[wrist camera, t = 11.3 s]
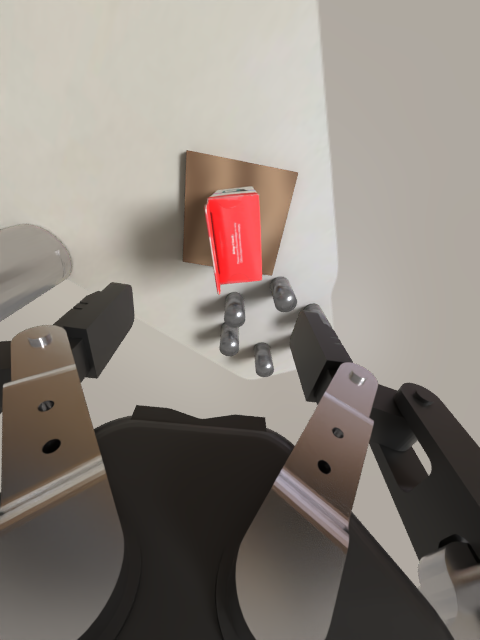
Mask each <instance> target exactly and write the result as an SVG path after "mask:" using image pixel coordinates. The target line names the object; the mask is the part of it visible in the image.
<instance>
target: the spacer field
mask: <svg viewBox="0 0 480 640" xmlns="http://www.w3.org/2000/svg"><path fill="white" fill-rule="evenodd" d="M270 288H271V292H272V295H273V299H274V303H275V307H276V309H277V310H279V311H280V312H289V311H291V310H293V309H294V308H295V306H296V304H297V299H296V297H295V295H294V292H293V290H292V288H291V285H290V283H289V281H288V280H287V279H286V278H285V277H277V278H275V279H274V280H273V281H272V282H271V285H270ZM303 311H310V312H317V313H318V314H319V316H320V318H321V320H322V321H323V323H324V324H327V325H328V326H329V327H330V328H332V327H331V325H330V323H329V322H328V320H327V318H326V316H325V315H324V313H323V311H322V309H321V308H320V306H319V305H317V304H310V305H307V306H306V307H305V308H304V310H303ZM224 321H225V323H224V324H223V325H222V330H221V340H220V352H221V353H222V354H223V355H226V356H233V355H235V354H237V353H238V351H239V327H240V326H242V325H243V324H244V322H245V306H244V297H243V296H242V295H241V294H240V293H237V292H233V293H230V294H229V295H228V296H227V297H226V305H225V315H224ZM254 355H255V367H256V373H257V375H259V376H261V377H268V376H270V375H272V373H273V372H274V368H273V362H272V357H271V351H270V346H269V345H268V344H266V343H258V344H257V345H256V346H255V347H254Z"/></svg>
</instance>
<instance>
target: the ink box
mask: <svg viewBox="0 0 480 640" xmlns="http://www.w3.org/2000/svg"><path fill="white" fill-rule="evenodd" d="M204 209H205V217H206V223H207V230H208V236H209V242H210V248H211V255H212V261H213V268H214V274H215V281H216V287H217V293H218V295H220V285H222V284H232V283H242V282H252V281H261V280H262V257H261V225H260V204H259V194H258V193H257V192H256V191H255V190H254V188H253V187H252V186H249V187H241V188H232V189H223V190H217V191H216V192H215V193H214V194H213V195H212V196H210V197H209V198H207V203H206V205H205V206H204Z"/></svg>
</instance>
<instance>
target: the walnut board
mask: <svg viewBox="0 0 480 640" xmlns="http://www.w3.org/2000/svg"><path fill="white" fill-rule="evenodd" d="M297 176H298V172H293V171H288V170H283V169H278V168H273V167H268V166H263V165H258V164H253V163H248V162H243V161H238V160H233V159H228V158H223V157H218V156H213V155H208V154H203V153H198V152H193V151H188V150H187V152H186V182H185V212H184V242H183V262H188V263H195V264H201V265H208V266H213V261H212V255H211V248H210V242H209V236H208V230H207V223H206V217H205V209H204V206H205V205H206V203H207V198H209V197H210V196H212V195H213V194H214V193H215V192H216V191H217V190H223V189H232V188H241V187H249V186H252V187H253V188H254V190H255V191H256V192H257V193H258V194H259V204H260V225H261V257H262V274H265V275H271V276H272V274H273V270H274V266H275V262H276V258H277V254H278V250H279V246H280V242H281V238H282V234H283V231H284V227H285V223H286V219H287V215H288V211H289V207H290V203H291V199H292V195H293V191H294V187H295V184H296V180H297Z"/></svg>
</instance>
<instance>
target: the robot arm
mask: <svg viewBox="0 0 480 640" xmlns="http://www.w3.org/2000/svg"><path fill="white" fill-rule="evenodd" d="M71 269H72V263H71V258H70V255H69V253H68V251H67V249H66V248H65V246H64V245H63V244H62V243H61V242H60V241H59V240H58V239H57V238H56V237H55V236H54V235H53V234H51V233H50V232H48V231H46V230H45V229H43V228H41V227H38V226H35V225H29V224H20V225H16V226H12V227H8V228H5V229H1V230H0V322H1V321H2V320H4V319H5V318H7V317H8V316H10V315H11V314H13V313H14V312H16V311H17V310H19V309H21V308H22V307H24V306H25V305H27V304H28V303H30V302H31V301H33V300H35V299H36V298H37V297H39V296H41V295H42V294H44V293H45V292H47V291H48V290H50V289H51V288H53V287H55V286H56V285H58V284H59V283H61V282H62V281H64V280H65V279H67V277H68V276H69V275H70V273H71ZM133 322H134V305H133V293H132V287H131V285H128V284H121V283H114V282H112V283H110V284H109V285H108V286H107V287H106V288H105V289H103V290H102V291H97V292H95V293H92V294H90V295H88V296H86V297H85V298H84V299H83V300H82V301H80V303H78V304H77V305H76V306H74V307H73V309H71V310H70V311H68V312H67V313H66V314H65V315H64V316H62V317H61V318H60V319H59V320H58V321H57V322H55V323H54V324H53V325H42V326H37V327H32V328H29V329H26V330H24V331H22V332H20V333H18V334H17V335H16V336H15V337H14V338H13V339H12V341H2V342H0V414H1V412H2V475H1V477H2V478H1V481H2V482H1V493H0V640H480V447H479V446H478V445H477V444H476V443H475V441H474V440H473V439H472V438H471V437H470V436H469V434H468V433H467V432H466V430H465V429H464V428H463V427H462V426H461V424H460V423H459V422H458V421H457V419H456V418H455V417H454V416H453V415H452V413H451V412H450V411H449V410H448V409H447V407H446V406H445V405H444V404H443V402H442V401H441V400H440V399H439V398H438V397H437V396H436V395H435V394H433V393H432V392H431V391H429V390H427V389H426V388H424V387H422V386H419V385H416V384H413V383H404V384H403V385H402V386H401V387H400V389H399V390H398V391H397V390H394V389H391V388H388V387H385V386H382V385H379V384H378V381H377V379H376V377H375V376H374V375H373V374H372V373H371V372H370V371H369V370H367V369H366V368H364V367H362V366H360V365H358V364H355V363H353V361H352V360H351V358H350V356H349V355H348V353H347V352H346V350H345V348H344V346H343V345H342V343H341V341H340V340H339V339H338V336H337V335H336V333H335V331H334V330H333V329H332V328H330V327H329V326H328V325H327V324H324V323H323V321H322V320H321V318H320V316H319V314H318V313H317V312H310V311H303V310H302V311H301V312H300V313H299V315H298V318H297V321H296V324H295V326H294V329H293V332H292V335H291V338H290V348H291V352H292V355H293V359H294V362H295V365H296V369H297V372H298V375H299V378H300V382H301V385H302V389H303V392H304V395H305V398H306V401H309V402H317V405H318V406H317V407H316V409H315V411H314V413H313V415H312V417H311V418H310V420H309V422H308V424H307V426H306V427H305V429H304V431H303V432H302V434H301V436H300V438H299V440H298V441H297V443H296V445H295V446H294V445H293V444H292V443H291V442H290V441H288V440H287V439H286V438H285V437H283V436H281V435H280V434H278V433H277V432H274V431H272V430H270V429H267V428H266V422H265V418H264V417H254V416H243V415H229V416H222V417H215V418H208V419H199V418H196V417H193V416H190V415H187V414H184V413H181V412H178V411H176V410H173V409H169V408H160V407H150V406H139V405H136V408H135V410H134V412H133V415H132V416H127V417H123V418H119V419H116V420H113V421H110V422H108V423H105V424H103V425H101V426H99V427H97V428H95V429H93V425H92V421H91V418H90V414H89V411H88V407H87V404H86V400H85V397H84V393H83V389H82V386H81V382H82V381H83V379H84V378H85V377H88V378H98V377H99V375H100V374H101V372H102V370H103V369H104V368H105V366H106V365H107V363H108V362H109V360H110V359H111V357H112V356H113V354H114V353H115V351H116V350H117V348H118V347H119V345H120V344H121V342H122V341H123V339H124V338H125V336H126V335H127V333H128V331H129V330H130V329H131V327H132V325H133ZM417 440H418V441H419V443H420V444H421V446H422V447H423V449H424V451H425V452H426V454H427V456H428V457H429V459H430V461H431V466H432V471H431V474H430V475H429V476H428V474H427V472H426V471H425V469H424V467H423V465H422V464H421V462H420V460H419V458H418V456H417V455H416V453H415V451H414V450H413V448H412V445H413V444H414V443H415V442H416V441H417ZM368 444H370V446H371V449H372V451H373V454H374V456H375V458H376V461H377V463H378V465H379V468H380V470H381V472H382V475H383V477H384V479H385V482H386V484H387V486H388V489H389V491H390V493H391V496H392V498H393V500H394V503H395V505H396V507H397V510H398V512H399V514H400V517H401V519H402V521H403V524H404V526H405V529H406V531H407V533H408V536H409V538H410V540H411V543H412V545H413V547H414V550H415V552H416V554H417V557H418V559H419V561H420V562H419V565H418V576H419V581H420V586H419V587H418V588H416V586H415V585H414V584H413V583H412V581H411V580H410V579H409V578H408V577H407V576H406V575H405V573H404V572H403V571H402V570H401V569H400V567H399V566H398V565H397V564H396V563H395V562H394V561H393V559H392V558H391V557H390V556H389V555H388V554H387V552H386V551H385V550H384V549H383V548H382V547H381V545H380V544H379V543H378V542H377V541H376V540H375V538H374V537H373V536H372V535H371V534H370V533H369V531H368V530H367V529H366V528H365V527H364V526H363V525H362V523H361V522H360V521H359V520H358V519H357V517H356V516H355V515H354V514H353V513H352V508H353V503H354V500H355V496H356V491H357V488H358V484H359V480H360V476H361V472H362V468H363V464H364V460H365V456H366V452H367V448H368Z"/></svg>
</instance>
